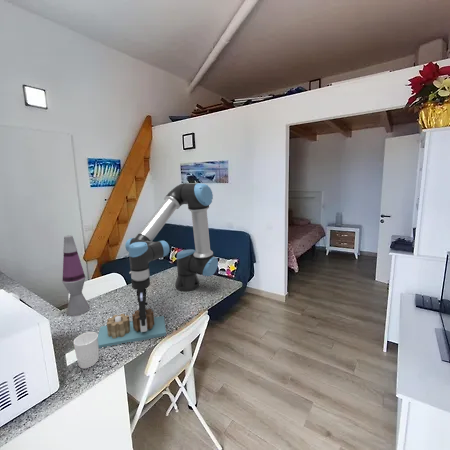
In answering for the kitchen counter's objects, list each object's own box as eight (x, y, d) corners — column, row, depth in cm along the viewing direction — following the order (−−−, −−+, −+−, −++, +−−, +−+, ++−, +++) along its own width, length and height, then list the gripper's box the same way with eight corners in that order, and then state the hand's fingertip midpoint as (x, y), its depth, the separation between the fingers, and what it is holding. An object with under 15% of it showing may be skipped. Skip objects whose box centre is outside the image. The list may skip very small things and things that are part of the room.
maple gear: (126, 323, 115) (125, 311, 114) (133, 332, 109) (132, 319, 108) (105, 331, 110) (104, 318, 109) (111, 341, 103) (110, 328, 102)
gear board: (163, 318, 122) (162, 302, 120) (166, 335, 109) (165, 317, 107) (100, 329, 114) (98, 312, 112) (95, 349, 100) (93, 330, 99)
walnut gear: (133, 321, 115) (132, 310, 114) (154, 318, 118) (153, 306, 116) (132, 333, 107) (131, 320, 105) (154, 329, 109) (153, 316, 108)
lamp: (61, 313, 127) (49, 237, 119) (79, 303, 137) (70, 232, 129) (76, 317, 123) (66, 239, 115) (94, 307, 133) (85, 234, 125)
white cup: (83, 355, 97) (79, 332, 95) (103, 354, 98) (101, 331, 96) (72, 370, 89) (69, 346, 87) (95, 369, 90) (92, 344, 88)
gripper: (132, 270, 117) (135, 314, 121) (129, 289, 96) (134, 341, 101) (149, 268, 119) (152, 311, 123) (150, 287, 99) (153, 337, 103)
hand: (144, 324), depth 112 cm, fingers closed on walnut gear, 9 cm apart
